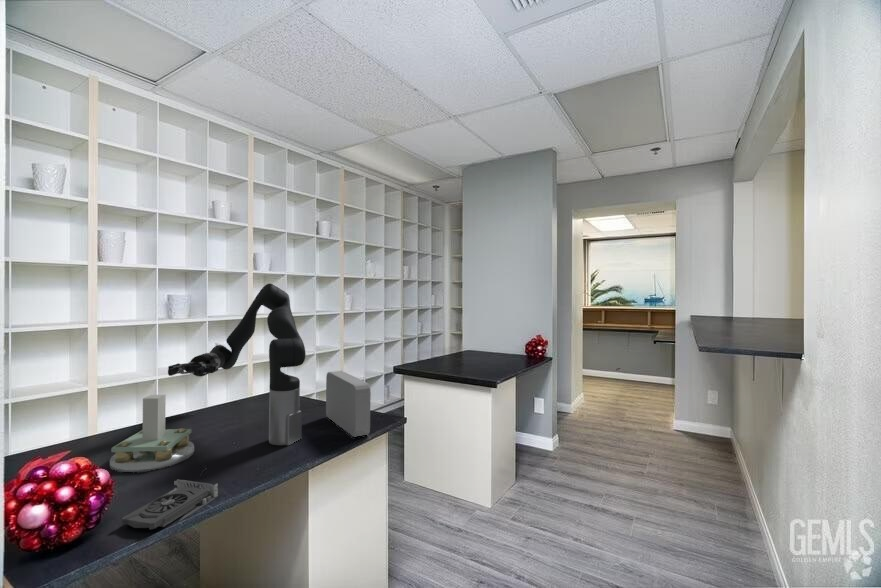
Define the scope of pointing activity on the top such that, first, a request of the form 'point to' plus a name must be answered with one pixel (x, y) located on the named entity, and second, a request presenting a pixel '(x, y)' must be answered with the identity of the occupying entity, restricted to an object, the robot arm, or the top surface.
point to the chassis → (152, 457)
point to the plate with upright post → (152, 429)
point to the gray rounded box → (348, 402)
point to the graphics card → (172, 505)
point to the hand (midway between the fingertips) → (183, 372)
